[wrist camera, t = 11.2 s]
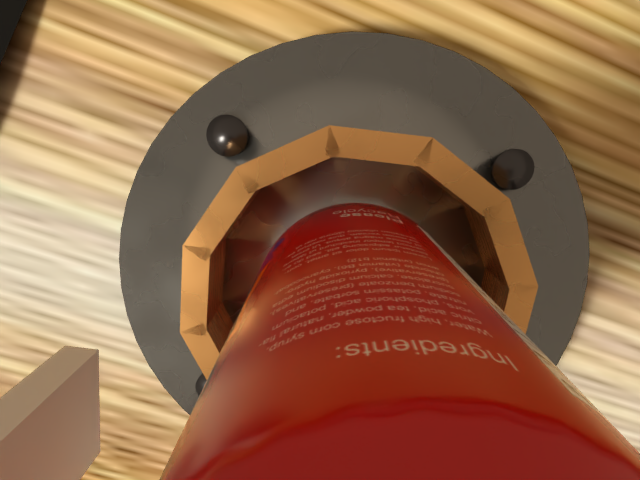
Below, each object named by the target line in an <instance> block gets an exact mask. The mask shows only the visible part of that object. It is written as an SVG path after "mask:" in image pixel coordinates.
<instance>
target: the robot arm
mask: <svg viewBox="0 0 640 480" xmlns="http://www.w3.org/2000/svg"><path fill="white" fill-rule="evenodd" d="M99 452H100V409H99V350H97V349H88V348H79V347H71V346H64V347H63V348H62V349H60V350H59V351H58V352H57V353H55V354H54V355H53V356H52V357H50V358H49V359H48V360H47V361H45V362H44V363H43V364H42V365H41V366H39V367H38V368H37V369H36V370H34V371H33V372H32V373H31V374H29V375H28V376H27V377H26V378H24V379H23V380H22V381H21V382H19V383H18V384H17V385H16V386H14V387H13V388H12V389H11V390H9V391H8V392H7V393H6V394H4V395H3V396H2V397H1V398H0V480H80V479H81V477H82V476H83V475H84V473H85V472H86V470H87V469H88V468H89V466H90V465H91V464H92V462H93V461H94V459H95V458H96V457H97V455H98V454H99Z"/></svg>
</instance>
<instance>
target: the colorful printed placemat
mask: <svg viewBox="0 0 640 480" xmlns="http://www.w3.org/2000/svg"><path fill="white" fill-rule="evenodd" d="M26 2H27V0H0V63H1V61H2V59H3V56H4V54H5V51H6V49H7V47H8V44H9V42H10V40H11V37H12V35H13V33H14V30H15V28H16V26H17V23H18V21H19V18H20V16H21V14H22V11H23V9H24V7H25V4H26Z"/></svg>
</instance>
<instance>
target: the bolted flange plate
mask: <svg viewBox="0 0 640 480" xmlns="http://www.w3.org/2000/svg"><path fill="white" fill-rule="evenodd" d="M344 203H367V204H374V205H379V206H383V207H386V208H389V209H392V210H394V211H396V212H399V213H401V214H403V215H405V216H407V217H408V218H410V219H411V220H413V221H414V222H416V223H417V224H418V225H420V226H421V227H422V228H423V229H424V230H425V231H426V232H427V233H428V234H430V235H431V236H432V238H433V239H434V240H435V241H436V242H437V243H438V244H439V245H440V246H441V247H442V248H443V249H444V250H445V251H446V252H447V253H448V254H449V255H450V256H451V257H452V258H453V259H454V260H455V261H456V263H457V264H458V265H459V266H460V267H461V268H462V269H463V270H464V271H465V272H466V273H467V274H468V275H469V276H470V277H471V278H472V279H473V280H474V281H475V282H476V283H477V284H478V285H479V287H480V288H481V289H482V290H483V291H484V292H485V293H486V294H487V295H488V296H489V297H490V298H491V299H492V300H493V301H494V302H495V303H496V304H497V305H498V306H499V307H500V308H501V309H502V310H503V312H504V313H505V314H506V315H507V316H508V317H509V318H510V319H511V320H512V321H513V322H514V323H515V324H516V325H517V326H518V327H519V328H520V329H521V330H522V331H523V332H524V333H525V334H526V336H527V337H528V338H529V339H530V340H531V341H532V342H533V343H534V344H535V345H536V346H537V347H538V348H539V349H540V350H541V351H542V352H543V353H544V354H545V355H546V356H547V357H548V358H549V359H550V361H551V362H552V363H553V364H554V365H555V366H556V365H557V364H558V362H559V360H560V358H561V356H562V354H563V352H564V350H565V348H566V347H567V345H568V343H569V341H570V339H571V336H572V334H573V331H574V328H575V326H576V323H577V320H578V317H579V315H580V312H581V308H582V303H583V299H584V294H585V290H586V286H587V277H588V265H589V238H588V223H587V218H586V213H585V209H584V204H583V199H582V194H581V191H580V189H579V186H578V183H577V180H576V177H575V175H574V172H573V169H572V166H571V164H570V162H569V160H568V159H567V157H566V155H565V153H564V151H563V149H562V147H561V146H560V144H559V142H558V140H557V138H556V137H555V135H554V134H553V133H552V131H551V130H550V129H549V127H548V126H547V125H546V123H545V122H544V121H543V119H542V118H541V117H540V115H539V114H538V113H537V111H536V110H535V109H534V108H533V107H532V106H531V105H530V104H529V103H528V102H527V101H526V100H525V99H524V98H523V97H522V96H521V95H520V94H519V93H518V92H517V91H516V90H515V89H513V88H512V87H511V86H510V85H508V84H507V83H506V82H504V81H503V80H501V79H500V78H499V77H497V76H496V75H495V74H493V73H492V72H490V71H489V70H488V69H486V68H485V67H483V66H481V65H479V64H477V63H475V62H473V61H472V60H470V59H468V58H466V57H464V56H462V55H460V54H458V53H456V52H454V51H451V50H448V49H446V48H443V47H440V46H437V45H434V44H431V43H428V42H426V41H423V40H418V39H413V38H408V37H403V36H398V35H393V34H388V33H368V32H343V33H333V34H322V35H315V36H310V37H306V38H302V39H298V40H294V41H290V42H285V43H282V44H279V45H277V46H274V47H272V48H269V49H267V50H264V51H262V52H259V53H257V54H254V55H251V56H249V57H248V58H246V59H244V60H242V61H241V62H239V63H237V64H235V65H234V66H232V67H230V68H228V69H227V70H225V71H223V72H221V73H220V74H218V75H217V76H216V77H215V78H213V79H212V80H211V81H209V82H208V83H207V84H206V85H204V86H203V87H202V88H200V89H199V90H198V91H197V92H195V93H194V94H193V95H192V96H191V97H190V98H189V99H188V100H187V101H186V102H185V103H184V104H183V105H182V106H181V107H180V108H179V109H178V110H177V112H176V113H175V114H174V115H173V116H172V117H171V118H170V119H169V121H168V122H167V123H166V125H165V126H164V128H163V129H162V130H161V132H160V133H159V134H158V136H157V137H156V139H155V140H154V141H153V143H152V144H151V146H150V148H149V150H148V152H147V154H146V156H145V158H144V160H143V161H142V163H141V165H140V167H139V169H138V171H137V174H136V176H135V179H134V182H133V185H132V188H131V190H130V193H129V196H128V199H127V203H126V207H125V212H124V217H123V222H122V227H121V237H120V254H119V263H120V276H121V288H122V293H123V297H124V302H125V307H126V311H127V316H128V318H129V321H130V324H131V327H132V330H133V332H134V335H135V338H136V341H137V343H138V345H139V347H140V349H141V351H142V353H143V355H144V356H145V358H146V360H147V362H148V364H149V366H150V368H151V369H152V370H153V372H154V373H155V375H156V376H157V378H158V379H159V381H160V382H161V384H162V385H163V387H164V388H165V389H166V390H167V391H168V393H169V394H170V395H171V396H172V397H173V398H174V399H175V400H176V402H177V403H178V404H179V405H180V406H181V407H182V408H183V409H184V410H185V411H186V412H187V413H188V414H189V415H191V413H192V411H193V408H194V406H195V404H196V402H197V400H198V398H199V396H200V394H201V392H202V390H203V387H204V385H205V383H206V381H207V379H208V377H209V375H210V373H211V371H212V369H213V367H214V364H215V362H216V360H217V358H218V356H219V354H220V352H221V350H222V348H223V346H224V344H225V341H226V339H227V337H228V335H229V333H230V331H231V329H232V327H233V325H234V323H235V321H236V318H237V316H238V314H239V312H240V310H241V308H242V306H243V304H244V302H245V300H246V297H247V295H248V293H249V291H250V289H251V287H252V285H253V283H254V281H255V279H256V277H257V274H258V272H259V270H260V268H261V266H262V264H263V262H264V260H265V258H266V256H267V254H268V253H269V251H270V249H271V248H272V246H273V245H274V243H275V242H276V241H277V240H278V238H279V237H280V236H281V235H282V234H283V233H284V232H285V231H286V230H287V229H288V228H289V227H291V226H292V225H293V224H294V223H296V222H297V221H298V220H300V219H301V218H303V217H305V216H306V215H308V214H310V213H312V212H314V211H317V210H319V209H322V208H325V207H328V206H332V205H337V204H344Z"/></svg>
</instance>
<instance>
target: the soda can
mask: <svg viewBox="0 0 640 480" xmlns="http://www.w3.org/2000/svg"><path fill="white" fill-rule="evenodd" d="M160 480H640V453H639V452H638V451H637V450H636V449H635V448H634V447H633V446H632V445H631V444H630V443H629V442H628V441H627V440H626V439H625V438H624V437H623V436H622V435H621V434H620V432H619V431H618V430H617V429H616V428H615V427H614V426H613V425H612V424H611V423H610V422H609V421H608V420H607V419H606V418H605V417H604V416H603V415H602V414H601V413H600V412H599V411H598V410H597V408H596V407H595V406H594V405H593V404H592V403H591V402H590V401H589V400H588V399H587V398H586V397H585V396H584V395H583V394H582V393H581V392H580V391H579V390H578V389H577V388H576V387H575V386H574V385H573V383H572V382H571V381H570V380H569V379H568V378H567V377H566V376H565V375H564V374H563V373H562V372H561V371H560V370H559V369H558V368H557V367H556V366H555V365H554V364H553V363H552V362H551V361H550V359H549V358H548V357H547V356H546V355H545V354H544V353H543V352H542V351H541V350H540V349H539V348H538V347H537V346H536V345H535V344H534V343H533V342H532V341H531V340H530V339H529V338H528V337H527V336H526V334H525V333H524V332H523V331H522V330H521V329H520V328H519V327H518V326H517V325H516V324H515V323H514V322H513V321H512V320H511V319H510V318H509V317H508V316H507V315H506V314H505V313H504V312H503V310H502V309H501V308H500V307H499V306H498V305H497V304H496V303H495V302H494V301H493V300H492V299H491V298H490V297H489V296H488V295H487V294H486V293H485V292H484V291H483V290H482V289H481V288H480V287H479V285H478V284H477V283H476V282H475V281H474V280H473V279H472V278H471V277H470V276H469V275H468V274H467V273H466V272H465V271H464V270H463V269H462V268H461V267H460V266H459V265H458V264H457V263H456V261H455V260H454V259H453V258H452V257H451V256H450V255H449V254H448V253H447V252H446V251H445V250H444V249H443V248H442V247H441V246H440V245H439V244H438V243H437V242H436V241H435V240H434V239H433V238H432V236H431V235H430V234H428V233H427V232H426V231H425V230H424V229H423V228H422V227H421V226H420V225H418V224H417V223H416V222H414V221H413V220H411V219H410V218H408V217H407V216H405V215H403V214H401V213H399V212H396V211H394V210H392V209H389V208H386V207H383V206H379V205H374V204H367V203H344V204H337V205H332V206H328V207H325V208H322V209H319V210H317V211H314V212H312V213H310V214H308V215H306V216H305V217H303V218H301V219H300V220H298V221H297V222H296V223H294V224H293V225H292V226H291V227H289V228H288V229H287V230H286V231H285V232H284V233H283V234H282V235H281V236H280V237H279V238H278V240H277V241H276V242H275V243H274V245H273V246H272V248H271V249H270V251H269V253H268V254H267V256H266V258H265V260H264V262H263V264H262V266H261V268H260V270H259V272H258V274H257V277H256V279H255V281H254V283H253V285H252V287H251V289H250V291H249V293H248V295H247V297H246V300H245V302H244V304H243V306H242V308H241V310H240V312H239V314H238V316H237V318H236V321H235V323H234V325H233V327H232V329H231V331H230V333H229V335H228V337H227V339H226V341H225V344H224V346H223V348H222V350H221V352H220V354H219V356H218V358H217V360H216V362H215V364H214V367H213V369H212V371H211V373H210V375H209V377H208V379H207V381H206V383H205V385H204V387H203V390H202V392H201V394H200V396H199V398H198V400H197V402H196V404H195V406H194V408H193V411H192V413H191V415H190V417H189V419H188V421H187V423H186V425H185V427H184V429H183V431H182V434H181V436H180V438H179V440H178V442H177V444H176V446H175V448H174V450H173V452H172V454H171V457H170V459H169V461H168V463H167V465H166V467H165V469H164V471H163V473H162V475H161V477H160Z"/></svg>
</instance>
